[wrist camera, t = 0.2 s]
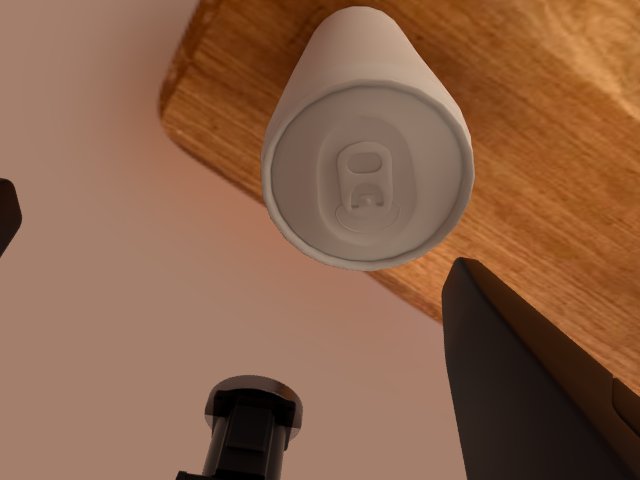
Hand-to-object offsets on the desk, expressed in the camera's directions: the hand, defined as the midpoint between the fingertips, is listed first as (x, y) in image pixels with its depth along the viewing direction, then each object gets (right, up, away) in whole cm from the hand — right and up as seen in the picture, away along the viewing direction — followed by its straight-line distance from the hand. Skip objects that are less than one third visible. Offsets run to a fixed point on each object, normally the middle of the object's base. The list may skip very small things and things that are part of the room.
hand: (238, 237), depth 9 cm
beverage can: (+3, +8, +11) cm, 14 cm away
